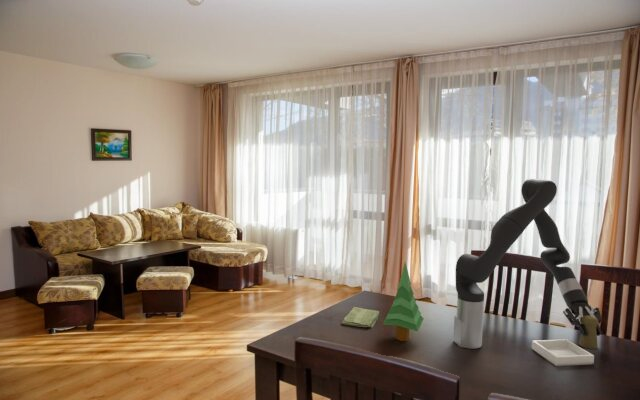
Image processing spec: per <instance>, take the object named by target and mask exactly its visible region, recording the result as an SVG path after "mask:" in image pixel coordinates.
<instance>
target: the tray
mask: <svg viewBox="0 0 640 400" xmlns="http://www.w3.org/2000/svg"><path fill="white" fill-rule="evenodd" d="M531 349H532V351H535V352H536V353H537V354H538V355H540V356H541V357H543V358H544V359H545V360H546V361H548V362H550V363H552V364H553V365H554V366H556V367H562V366H563V367H564V366H581V365H582V366H584V365H594V363H595V355H594V354H593V353H591V352H589V351H587V350H585V349H584V348H583V347H582V346H581V347H580V345H577V344H575V343H574V342H572V341H570V339H569V340H568V339H567V338H566V339H565V338H564V339H563V338H561V339H544V340H543V339H542V340H541V339H537V340H536V339H535V340H532V341H531Z"/></svg>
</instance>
